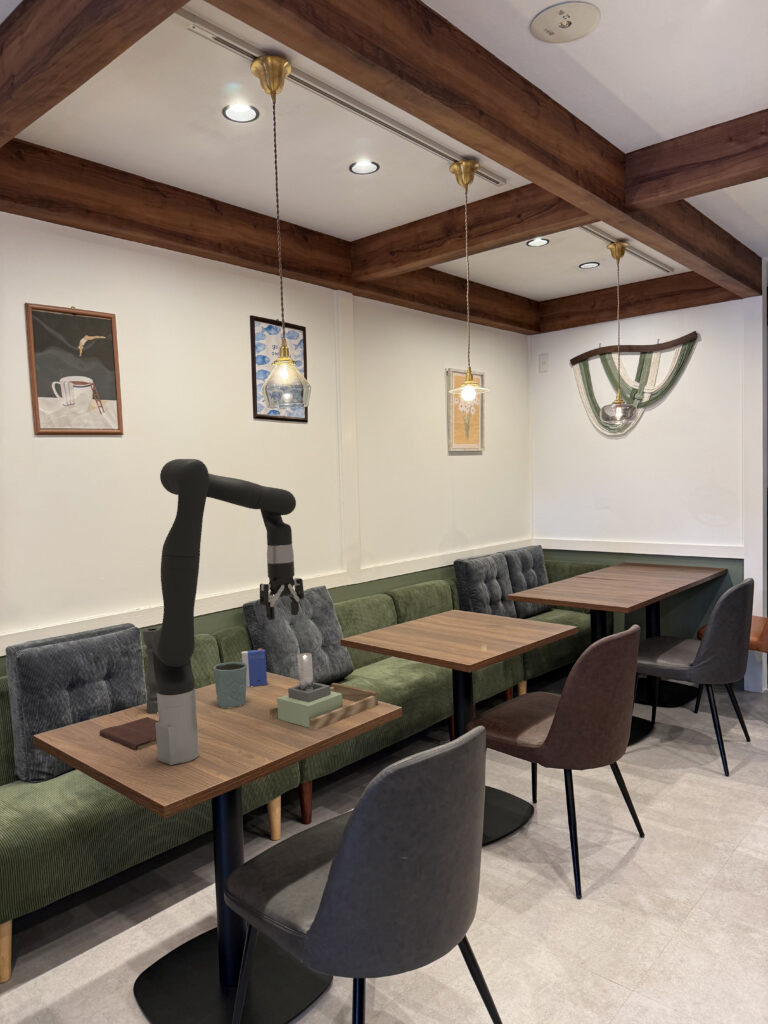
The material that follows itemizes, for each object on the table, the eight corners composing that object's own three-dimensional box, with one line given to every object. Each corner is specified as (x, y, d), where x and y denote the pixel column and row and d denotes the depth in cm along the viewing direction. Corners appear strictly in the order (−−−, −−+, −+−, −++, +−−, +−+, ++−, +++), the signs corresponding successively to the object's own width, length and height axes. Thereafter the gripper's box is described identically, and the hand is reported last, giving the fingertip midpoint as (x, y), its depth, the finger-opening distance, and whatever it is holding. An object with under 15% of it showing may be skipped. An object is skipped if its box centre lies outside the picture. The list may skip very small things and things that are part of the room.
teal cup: (214, 701, 230) (212, 663, 229) (247, 697, 233) (244, 660, 232) (217, 710, 220) (214, 671, 220) (251, 706, 223) (248, 667, 223)
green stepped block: (309, 727, 198) (307, 696, 197) (278, 719, 206) (276, 689, 206) (343, 714, 207) (341, 685, 207) (311, 706, 216) (310, 678, 215)
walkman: (266, 682, 248) (264, 648, 248) (267, 685, 246) (265, 649, 245) (243, 685, 246) (240, 650, 246) (243, 687, 244) (241, 652, 243)
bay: (313, 735, 195) (312, 716, 195) (270, 722, 207) (269, 705, 207) (378, 708, 215) (377, 692, 214) (335, 698, 227) (334, 682, 226)
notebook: (148, 721, 215) (148, 715, 215) (185, 735, 201) (185, 728, 201) (99, 737, 204) (99, 730, 204) (135, 752, 190) (135, 745, 190)
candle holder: (154, 714, 220) (149, 632, 218) (142, 711, 223) (137, 630, 222) (172, 708, 224) (167, 628, 223) (159, 705, 228) (154, 626, 227)
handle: (306, 699, 203) (304, 657, 202) (297, 697, 206) (294, 655, 205) (317, 695, 206) (314, 654, 205) (307, 693, 209) (304, 652, 208)
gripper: (268, 564, 199) (271, 623, 200) (308, 558, 210) (310, 614, 210) (252, 562, 204) (254, 620, 205) (291, 557, 215) (293, 612, 216)
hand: (283, 617), depth 208 cm, fingers open, 8 cm apart
